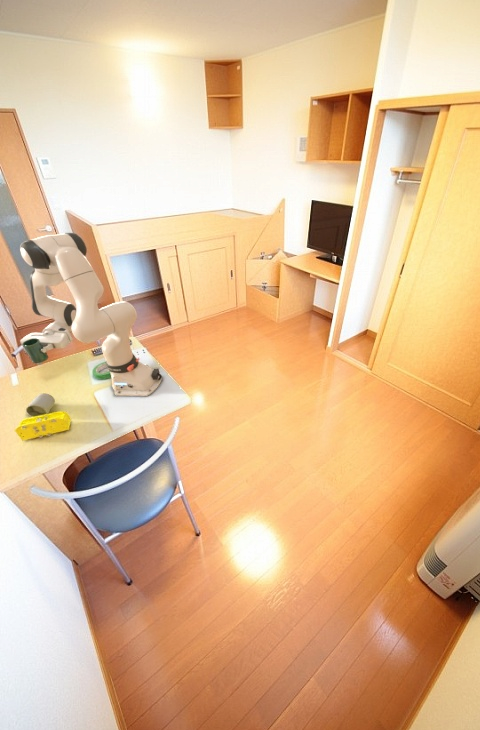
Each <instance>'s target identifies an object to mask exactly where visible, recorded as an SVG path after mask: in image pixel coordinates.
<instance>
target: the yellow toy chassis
mask: <svg viewBox="0 0 480 730" xmlns="http://www.w3.org/2000/svg"><path fill="white" fill-rule="evenodd" d="M71 422H72V418H71V417H70V415H69V414H68V412H67V411H62V410H59V411H54V412H49V413H48V414H45V415H40V416H36V417H32V416H30V417H27V418H23V419H21V421H20V422H19V425H18V426H17V427H15V429H14V432H15V433H16V435H17V436H18V438H20V440H21V441H27V440H33V439H36V438H40V439H43V438H44V437H43V436H47V437H51V435H53V434H56V433H62V432H65V431H69V430H70V425H71Z"/></svg>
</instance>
